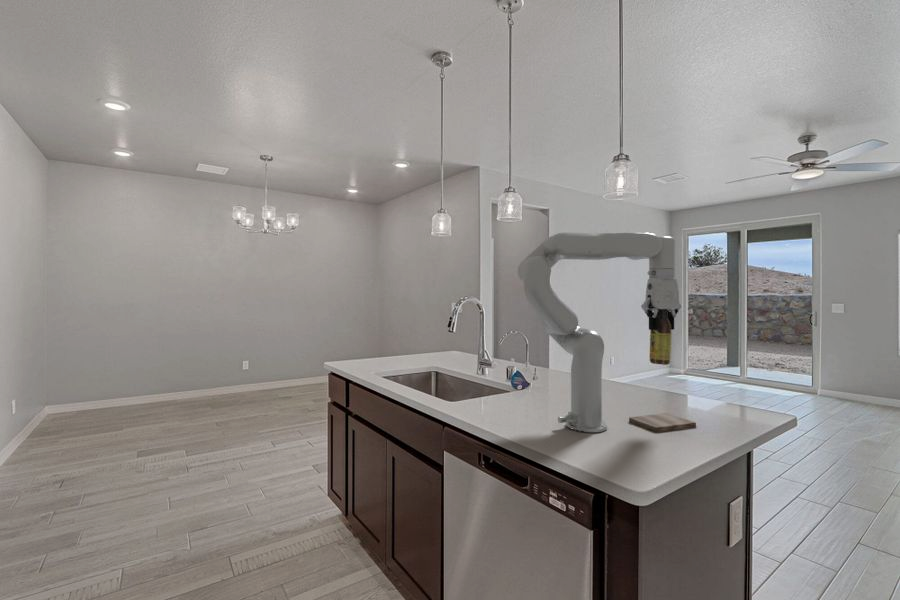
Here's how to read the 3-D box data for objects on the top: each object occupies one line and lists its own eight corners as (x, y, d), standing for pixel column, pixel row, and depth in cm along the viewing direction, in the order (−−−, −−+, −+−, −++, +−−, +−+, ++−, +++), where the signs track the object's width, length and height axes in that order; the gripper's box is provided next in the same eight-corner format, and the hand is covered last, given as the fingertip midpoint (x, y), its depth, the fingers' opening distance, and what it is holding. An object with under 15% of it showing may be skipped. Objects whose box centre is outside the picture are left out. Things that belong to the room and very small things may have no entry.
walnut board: (656, 432, 136) (656, 427, 136) (629, 421, 147) (629, 417, 147) (696, 427, 141) (696, 422, 141) (666, 417, 152) (666, 413, 152)
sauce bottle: (649, 361, 148) (651, 303, 148) (670, 363, 146) (672, 303, 146) (648, 364, 142) (651, 303, 142) (670, 365, 140) (672, 303, 140)
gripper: (649, 273, 137) (649, 331, 137) (691, 274, 143) (691, 329, 143) (632, 274, 144) (631, 329, 144) (673, 275, 150) (672, 328, 150)
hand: (661, 329), depth 144 cm, fingers closed on sauce bottle, 6 cm apart
